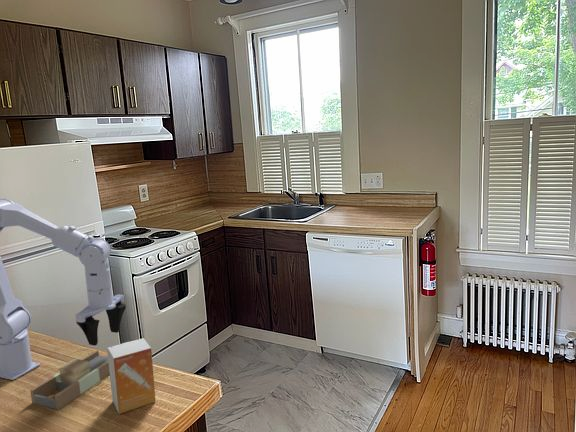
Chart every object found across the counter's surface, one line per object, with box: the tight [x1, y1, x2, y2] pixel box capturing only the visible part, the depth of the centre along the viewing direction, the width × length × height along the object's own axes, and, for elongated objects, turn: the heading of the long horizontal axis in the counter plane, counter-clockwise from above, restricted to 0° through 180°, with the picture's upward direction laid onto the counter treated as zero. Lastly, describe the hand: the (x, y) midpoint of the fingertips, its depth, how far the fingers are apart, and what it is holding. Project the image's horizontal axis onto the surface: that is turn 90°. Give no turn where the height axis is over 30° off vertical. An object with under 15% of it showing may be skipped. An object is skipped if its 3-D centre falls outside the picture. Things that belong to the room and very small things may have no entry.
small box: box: [106, 337, 156, 415], centre depth 97 cm, size 8×6×13 cm
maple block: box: [58, 358, 90, 384], centre depth 105 cm, size 4×4×4 cm
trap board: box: [29, 350, 110, 410], centre depth 106 cm, size 8×20×3 cm, turn 159°
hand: (104, 338), depth 113 cm, fingers open, 7 cm apart
